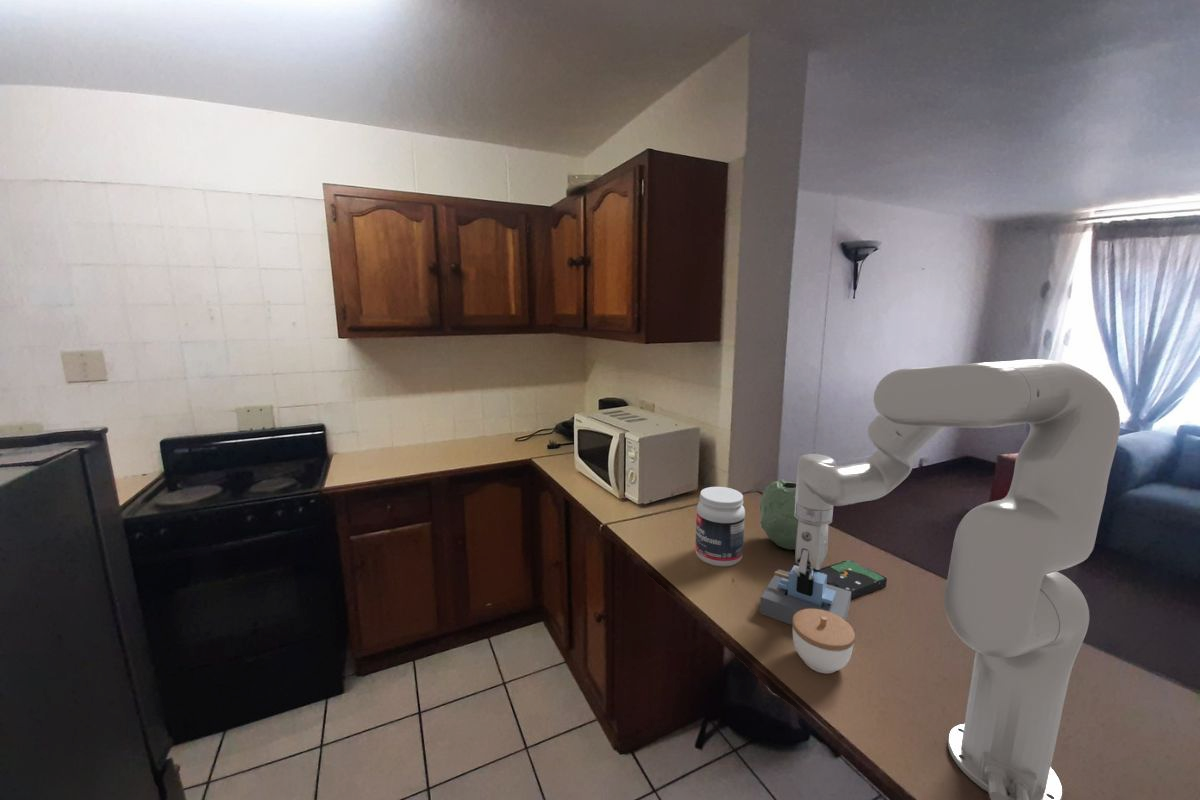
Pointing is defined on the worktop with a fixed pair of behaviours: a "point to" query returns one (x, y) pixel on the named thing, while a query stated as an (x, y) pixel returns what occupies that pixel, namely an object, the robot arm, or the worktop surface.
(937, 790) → the worktop surface
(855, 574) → the disk drive
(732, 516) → the supplement tub
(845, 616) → the plate
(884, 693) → the worktop surface
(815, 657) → the lidded jar
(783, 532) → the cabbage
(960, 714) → the worktop surface
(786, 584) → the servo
